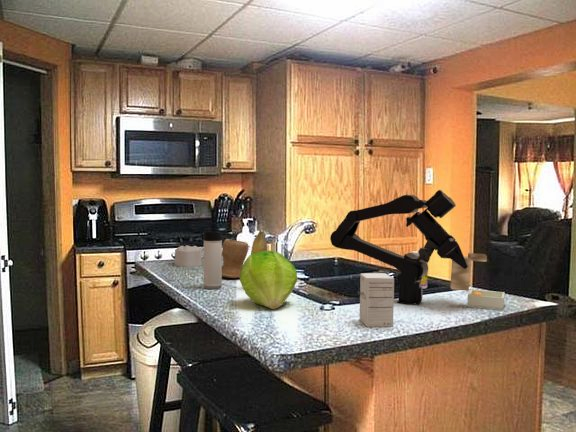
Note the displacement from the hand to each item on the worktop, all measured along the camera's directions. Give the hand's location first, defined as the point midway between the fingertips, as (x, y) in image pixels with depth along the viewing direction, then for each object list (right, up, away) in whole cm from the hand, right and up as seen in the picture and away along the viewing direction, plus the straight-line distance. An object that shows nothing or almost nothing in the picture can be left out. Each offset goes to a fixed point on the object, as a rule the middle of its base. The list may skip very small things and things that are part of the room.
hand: (465, 266), depth 158 cm
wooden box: (0, -7, 0) cm, 7 cm away
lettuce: (-59, -12, +1) cm, 60 cm away
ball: (+5, -10, +4) cm, 11 cm away
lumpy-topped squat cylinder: (-99, -7, +81) cm, 128 cm away
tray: (+7, -12, +2) cm, 14 cm away
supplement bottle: (-7, -11, +30) cm, 33 cm away
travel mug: (-80, -10, +26) cm, 85 cm away
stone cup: (-76, -9, +50) cm, 91 cm away
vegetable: (-64, -10, +26) cm, 69 cm away
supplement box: (-30, -13, -20) cm, 39 cm away
